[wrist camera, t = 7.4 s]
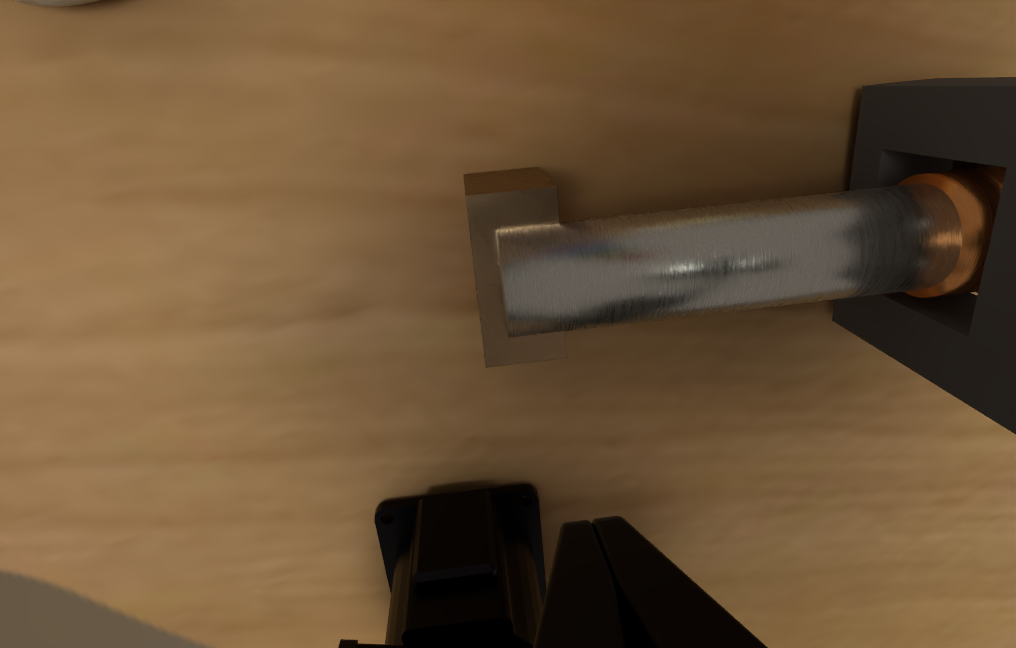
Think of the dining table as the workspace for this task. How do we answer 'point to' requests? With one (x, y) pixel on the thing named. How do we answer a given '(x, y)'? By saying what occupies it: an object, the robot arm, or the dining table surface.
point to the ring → (1012, 249)
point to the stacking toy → (56, 2)
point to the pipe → (714, 254)
